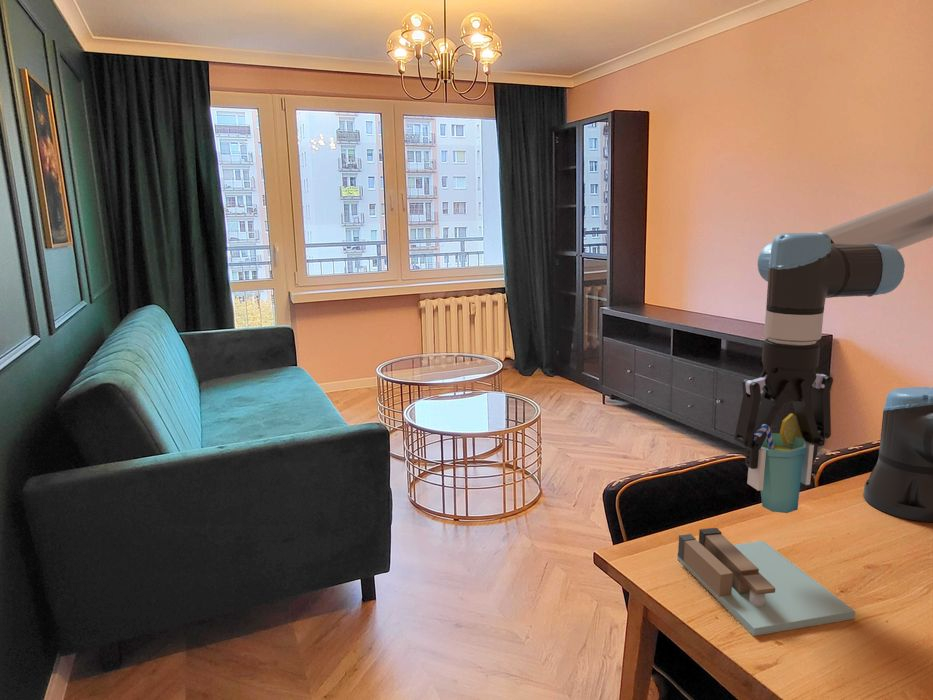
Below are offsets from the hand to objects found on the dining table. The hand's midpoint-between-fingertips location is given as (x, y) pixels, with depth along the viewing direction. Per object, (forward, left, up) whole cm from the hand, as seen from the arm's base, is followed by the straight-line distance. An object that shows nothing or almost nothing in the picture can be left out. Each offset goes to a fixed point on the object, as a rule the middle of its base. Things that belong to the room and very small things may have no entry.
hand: (778, 483), depth 97 cm
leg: (+8, +2, -14) cm, 16 cm away
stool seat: (+4, +3, -15) cm, 16 cm away
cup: (0, 0, -4) cm, 4 cm away
